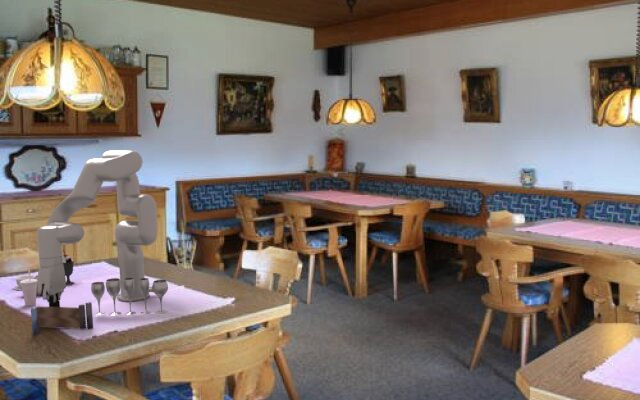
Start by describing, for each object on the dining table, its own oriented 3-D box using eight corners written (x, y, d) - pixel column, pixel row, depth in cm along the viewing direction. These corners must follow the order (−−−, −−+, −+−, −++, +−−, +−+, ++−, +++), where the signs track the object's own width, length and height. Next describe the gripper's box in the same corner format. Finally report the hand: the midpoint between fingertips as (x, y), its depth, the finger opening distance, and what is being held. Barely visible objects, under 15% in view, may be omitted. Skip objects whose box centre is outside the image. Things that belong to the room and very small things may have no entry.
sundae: (63, 282, 285) (60, 249, 283) (78, 281, 285) (76, 248, 284) (58, 286, 278) (55, 252, 276) (74, 285, 279) (71, 251, 277)
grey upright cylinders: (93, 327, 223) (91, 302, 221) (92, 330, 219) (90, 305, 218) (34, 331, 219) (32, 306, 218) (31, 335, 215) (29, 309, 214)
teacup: (22, 292, 270) (21, 281, 270) (8, 289, 276) (7, 278, 275) (43, 286, 279) (42, 276, 278) (29, 283, 284) (28, 273, 283)
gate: (87, 326, 222) (85, 304, 221) (84, 328, 220) (82, 306, 219) (39, 325, 224) (38, 303, 223) (36, 327, 222) (34, 304, 221)
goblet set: (90, 317, 234) (88, 281, 233) (95, 312, 240) (93, 277, 238) (167, 314, 236) (166, 279, 234) (170, 310, 241) (169, 275, 240)
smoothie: (32, 307, 247) (29, 272, 245) (18, 306, 249) (15, 271, 247) (42, 302, 253) (40, 268, 252) (28, 302, 255) (25, 267, 253)
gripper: (54, 256, 230) (58, 305, 233) (27, 266, 216) (31, 318, 218) (73, 256, 229) (76, 306, 231) (47, 266, 214) (51, 319, 217)
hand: (54, 312), depth 225 cm, fingers closed
